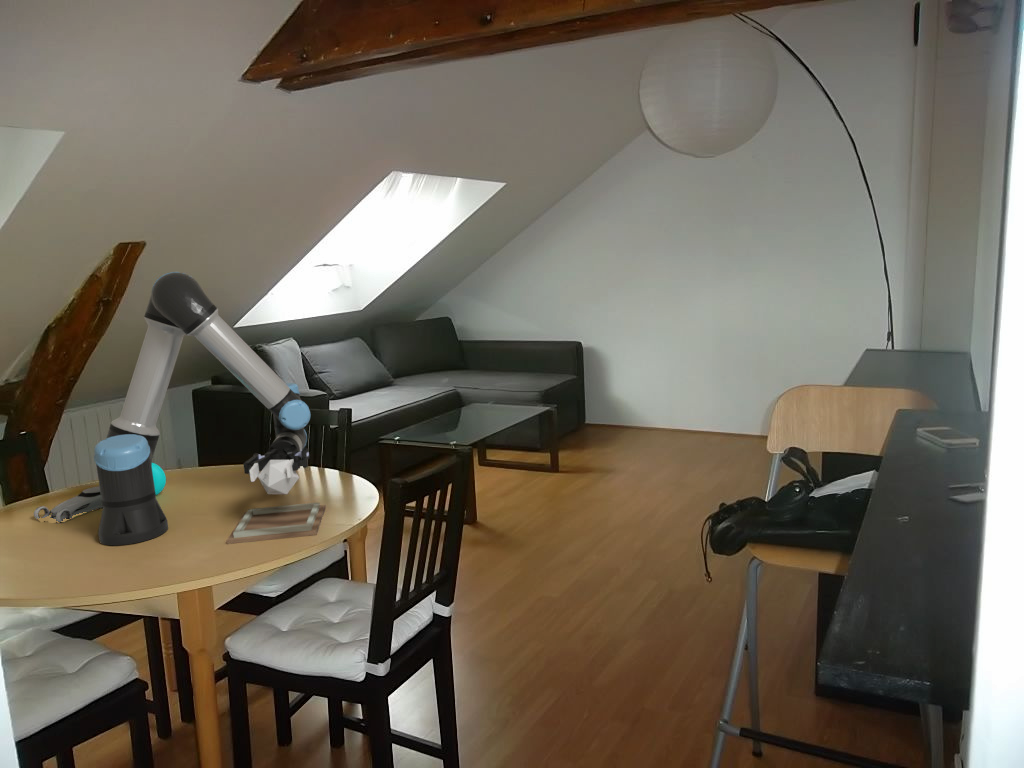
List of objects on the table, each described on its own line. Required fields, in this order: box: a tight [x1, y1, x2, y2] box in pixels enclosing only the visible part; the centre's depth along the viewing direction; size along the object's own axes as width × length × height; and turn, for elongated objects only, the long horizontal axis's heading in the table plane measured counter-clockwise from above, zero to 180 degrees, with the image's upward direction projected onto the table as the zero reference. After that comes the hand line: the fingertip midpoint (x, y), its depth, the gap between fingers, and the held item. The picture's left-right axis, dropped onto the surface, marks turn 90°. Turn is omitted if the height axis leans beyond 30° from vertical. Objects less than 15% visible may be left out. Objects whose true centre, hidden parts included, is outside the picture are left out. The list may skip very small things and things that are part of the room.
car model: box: [33, 485, 103, 522], centre depth 217 cm, size 11×24×5 cm, turn 155°
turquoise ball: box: [152, 462, 167, 496], centre depth 220 cm, size 10×10×10 cm
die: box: [257, 460, 300, 495], centre depth 191 cm, size 8×9×10 cm
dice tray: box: [226, 501, 327, 545], centre depth 193 cm, size 20×20×2 cm
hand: (270, 473), depth 186 cm, fingers closed on die, 8 cm apart
